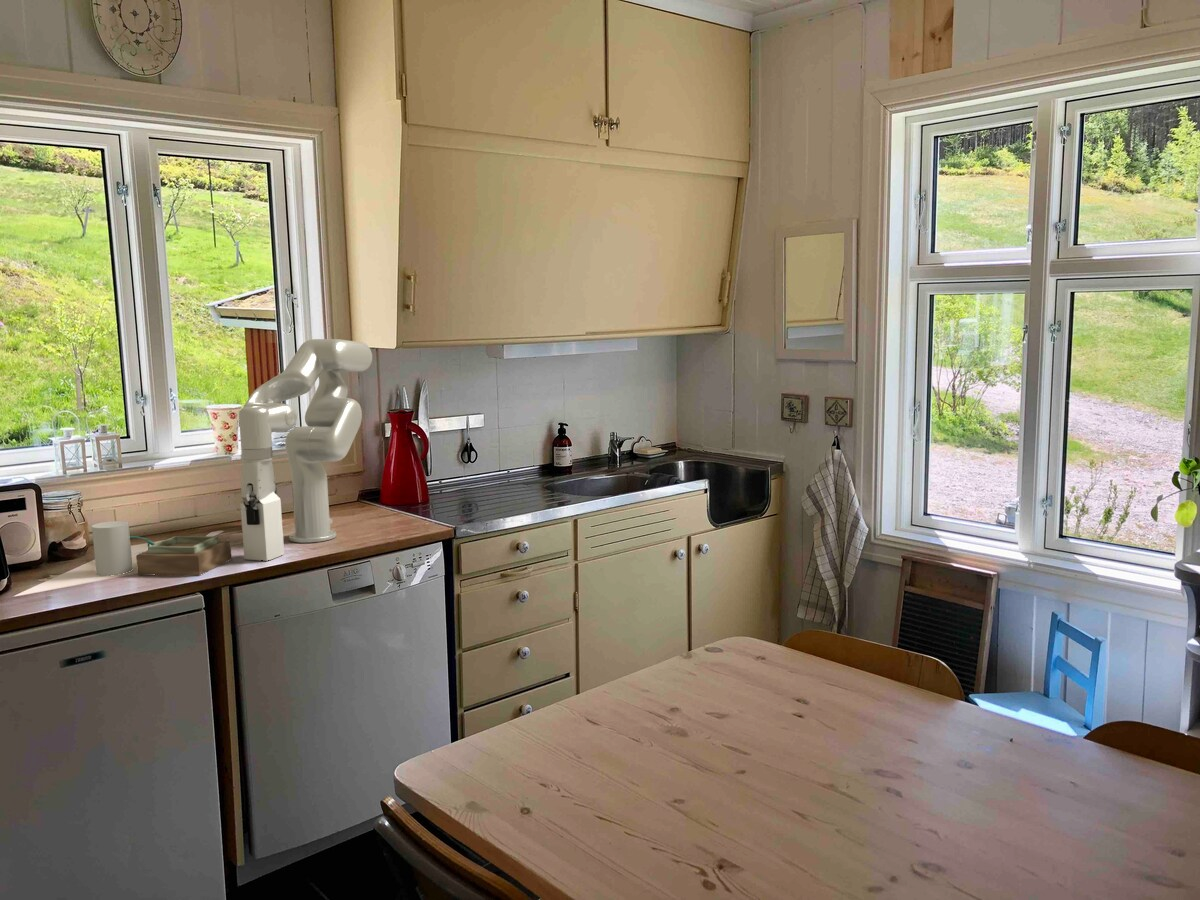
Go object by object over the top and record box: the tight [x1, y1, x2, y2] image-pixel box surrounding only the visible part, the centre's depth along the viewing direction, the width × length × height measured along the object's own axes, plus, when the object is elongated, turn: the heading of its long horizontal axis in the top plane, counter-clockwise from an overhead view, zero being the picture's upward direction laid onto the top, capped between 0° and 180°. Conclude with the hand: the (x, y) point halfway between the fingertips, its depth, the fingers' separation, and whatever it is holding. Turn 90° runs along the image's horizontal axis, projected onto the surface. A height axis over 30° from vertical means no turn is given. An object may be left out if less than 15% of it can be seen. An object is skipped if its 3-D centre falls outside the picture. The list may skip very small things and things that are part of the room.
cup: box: [91, 520, 134, 577], centre depth 242 cm, size 8×8×12 cm
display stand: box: [135, 535, 233, 576], centre depth 245 cm, size 16×16×6 cm
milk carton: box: [239, 492, 285, 562], centre depth 253 cm, size 7×7×19 cm
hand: (261, 520), depth 252 cm, fingers open, 8 cm apart
